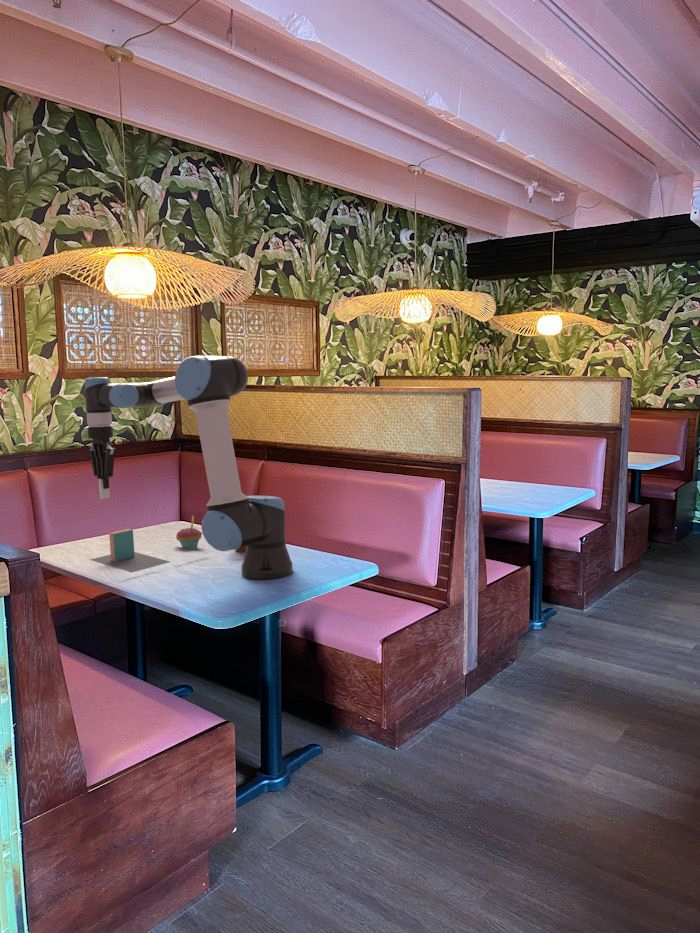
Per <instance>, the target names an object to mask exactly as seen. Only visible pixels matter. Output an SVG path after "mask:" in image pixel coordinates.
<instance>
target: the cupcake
mask: <svg viewBox="0 0 700 933" xmlns="http://www.w3.org/2000/svg"><path fill="white" fill-rule="evenodd" d="M194 519H195V514H194V513H193V515H192V516H191V523H190V527H188V528H181V529H180V530H179V531H177V533H176V535H175V536H176V538H175V539H176V540H177V541H179V544H180V545H181V548H183V549H186V550H191V551H194V550H196V549H198V544H199V541H200V539H201V538H202V535H203V533H202V531H200V530H199V529H197V528H195V527H194V522H195V520H194Z"/></svg>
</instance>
